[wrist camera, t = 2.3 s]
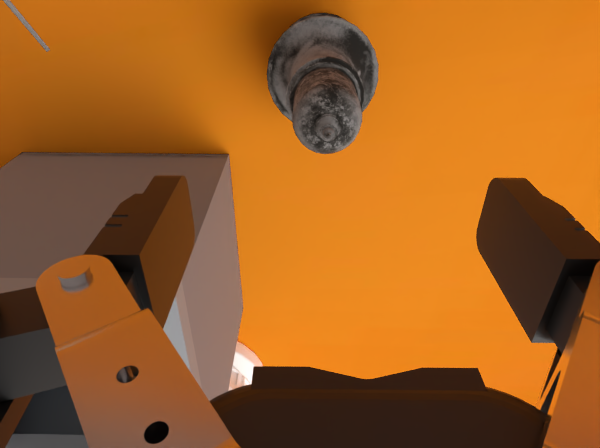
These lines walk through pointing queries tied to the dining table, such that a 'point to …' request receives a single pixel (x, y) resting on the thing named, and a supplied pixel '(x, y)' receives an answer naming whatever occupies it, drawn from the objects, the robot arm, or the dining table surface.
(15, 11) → the sign
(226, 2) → the dining table surface
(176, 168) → the box
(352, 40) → the salt shaker
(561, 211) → the robot arm
